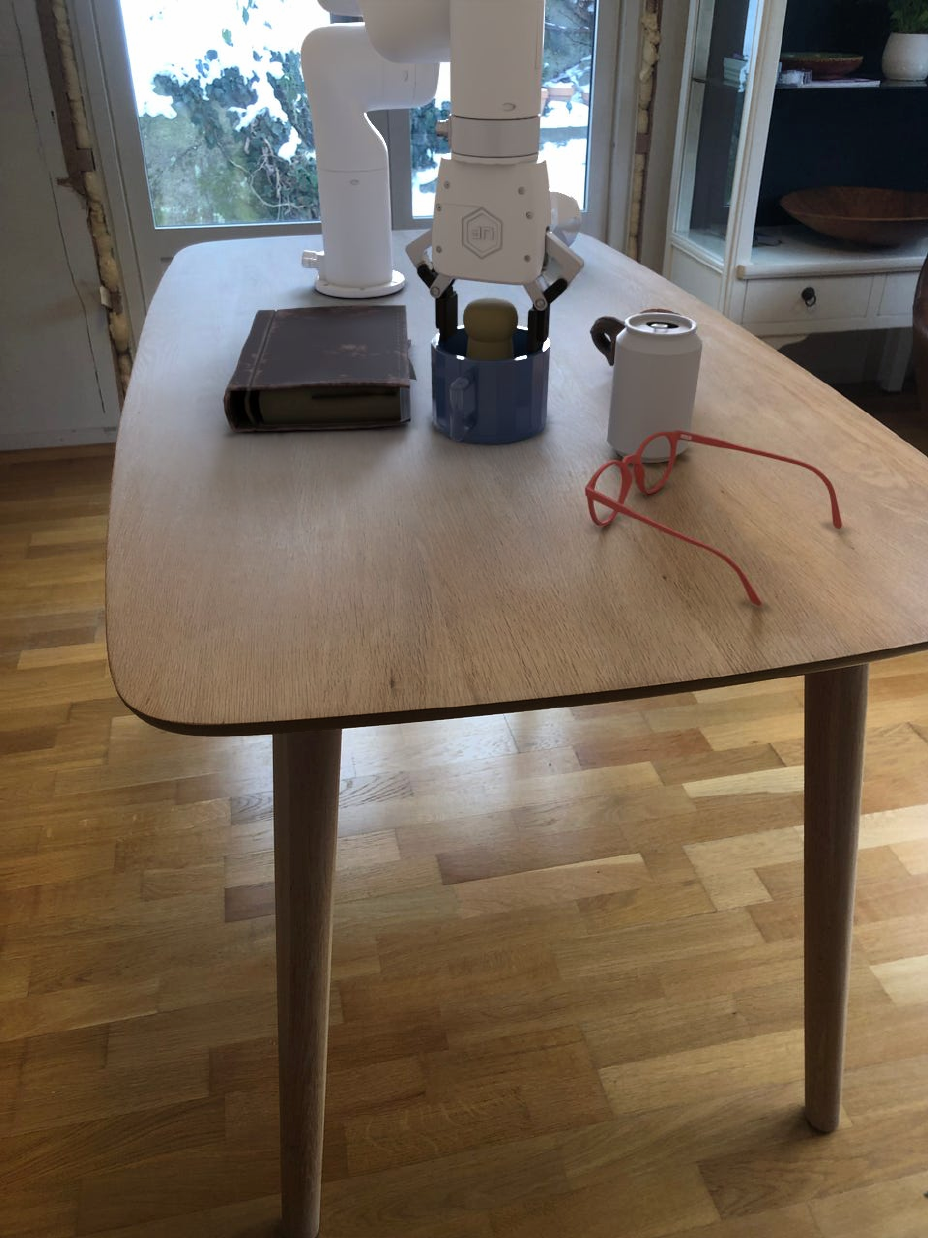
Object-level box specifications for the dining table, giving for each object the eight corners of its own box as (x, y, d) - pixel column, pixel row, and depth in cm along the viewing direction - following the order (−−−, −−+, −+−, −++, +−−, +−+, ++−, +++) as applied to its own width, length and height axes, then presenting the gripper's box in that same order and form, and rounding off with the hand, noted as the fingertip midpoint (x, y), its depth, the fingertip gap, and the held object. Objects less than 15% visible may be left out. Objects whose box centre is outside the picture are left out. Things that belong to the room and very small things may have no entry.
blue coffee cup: (458, 394, 101) (457, 318, 96) (560, 409, 97) (564, 330, 93) (399, 448, 89) (395, 364, 85) (512, 467, 86) (515, 381, 81)
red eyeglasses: (672, 468, 86) (679, 416, 83) (847, 523, 77) (862, 466, 74) (561, 542, 75) (565, 484, 72) (752, 615, 66) (764, 553, 63)
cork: (521, 402, 97) (525, 292, 90) (518, 426, 92) (522, 310, 85) (461, 400, 97) (461, 290, 91) (455, 423, 92) (454, 308, 86)
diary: (226, 434, 92) (218, 384, 89) (256, 350, 112) (250, 307, 110) (419, 429, 93) (418, 379, 90) (414, 346, 113) (412, 303, 111)
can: (692, 439, 91) (710, 312, 84) (680, 471, 85) (699, 338, 78) (614, 429, 93) (626, 304, 86) (598, 460, 87) (609, 329, 80)
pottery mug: (692, 367, 109) (715, 316, 101) (668, 429, 105) (690, 380, 97) (593, 331, 110) (609, 277, 102) (566, 390, 106) (580, 339, 98)
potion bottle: (548, 270, 148) (530, 258, 161) (600, 229, 146) (577, 220, 159) (514, 218, 144) (498, 210, 157) (567, 175, 142) (546, 171, 155)
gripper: (382, 138, 80) (391, 343, 90) (582, 151, 75) (568, 367, 85) (418, 126, 86) (422, 320, 96) (606, 138, 81) (590, 341, 91)
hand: (491, 341), depth 90 cm, fingers open, 8 cm apart
